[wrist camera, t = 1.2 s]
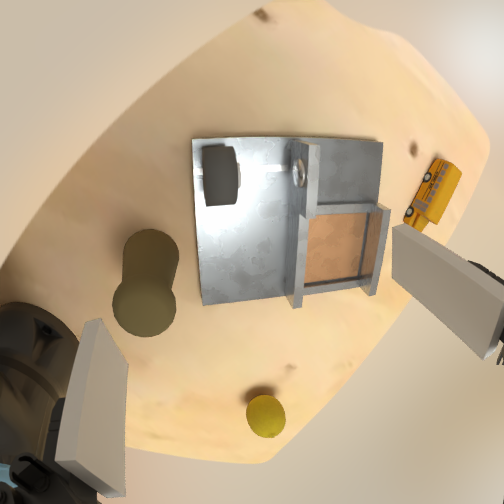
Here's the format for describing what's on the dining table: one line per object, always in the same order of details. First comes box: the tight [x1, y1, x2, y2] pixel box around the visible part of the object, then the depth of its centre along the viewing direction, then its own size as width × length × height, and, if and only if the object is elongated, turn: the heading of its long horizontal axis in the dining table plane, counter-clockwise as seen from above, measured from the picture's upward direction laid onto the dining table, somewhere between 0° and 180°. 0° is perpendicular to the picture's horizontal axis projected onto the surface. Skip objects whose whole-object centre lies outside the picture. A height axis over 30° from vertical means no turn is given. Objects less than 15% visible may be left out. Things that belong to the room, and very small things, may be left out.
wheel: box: [202, 146, 241, 207], centre depth 26 cm, size 3×5×5 cm, turn 0°
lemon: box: [246, 395, 286, 438], centre depth 42 cm, size 6×6×8 cm
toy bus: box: [404, 159, 462, 232], centre depth 35 cm, size 3×10×4 cm, turn 153°
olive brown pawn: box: [112, 229, 179, 337], centre depth 27 cm, size 6×6×11 cm
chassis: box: [192, 136, 391, 309], centre depth 31 cm, size 20×18×6 cm
